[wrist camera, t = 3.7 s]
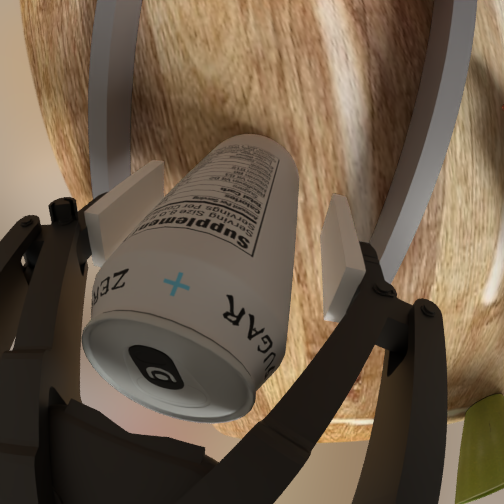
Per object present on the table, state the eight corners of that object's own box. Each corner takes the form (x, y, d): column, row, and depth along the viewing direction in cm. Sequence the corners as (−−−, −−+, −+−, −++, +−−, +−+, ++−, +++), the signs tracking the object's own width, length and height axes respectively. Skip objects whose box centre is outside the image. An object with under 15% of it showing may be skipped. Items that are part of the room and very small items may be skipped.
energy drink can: (216, 217, 21) (119, 410, 9) (201, 135, 18) (28, 286, 6) (301, 215, 20) (283, 439, 8) (296, 128, 17) (271, 303, 5)
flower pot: (490, 377, 28) (513, 478, 15) (535, 378, 28) (557, 457, 15) (428, 426, 37) (435, 511, 23) (480, 424, 36) (491, 494, 23)
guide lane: (136, -58, 10) (96, -78, 6) (456, -13, 9) (495, -27, 5) (117, 213, 23) (82, 247, 19) (378, 268, 22) (390, 315, 18)
